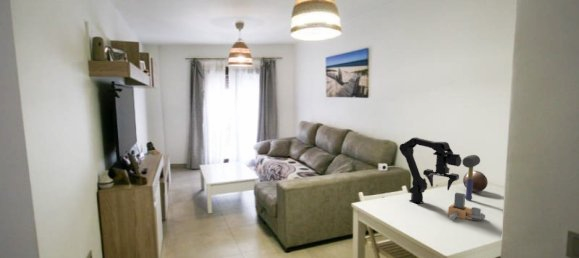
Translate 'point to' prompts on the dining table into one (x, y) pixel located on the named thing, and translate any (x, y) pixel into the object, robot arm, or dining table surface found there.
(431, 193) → the dining table surface
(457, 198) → the dark grey long block
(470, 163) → the rubber mallet
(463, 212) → the bracket head
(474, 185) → the wooden sphere
